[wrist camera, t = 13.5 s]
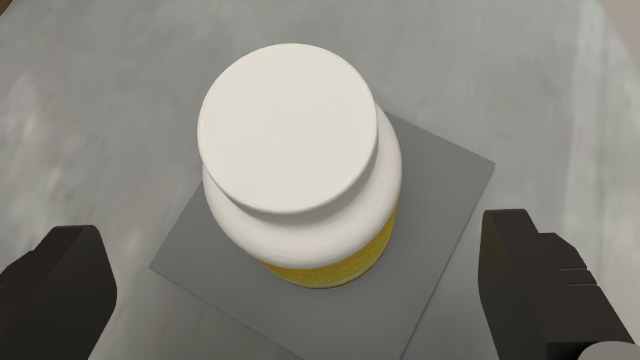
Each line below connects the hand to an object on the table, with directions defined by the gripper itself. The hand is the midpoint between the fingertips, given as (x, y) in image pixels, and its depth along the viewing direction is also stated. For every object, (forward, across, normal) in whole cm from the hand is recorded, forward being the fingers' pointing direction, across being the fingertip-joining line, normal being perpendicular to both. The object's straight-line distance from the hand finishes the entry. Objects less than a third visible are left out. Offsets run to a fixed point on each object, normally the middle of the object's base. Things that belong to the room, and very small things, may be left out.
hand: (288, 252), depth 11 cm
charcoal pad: (+9, 0, +5) cm, 10 cm away
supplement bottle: (+9, 0, +5) cm, 10 cm away
